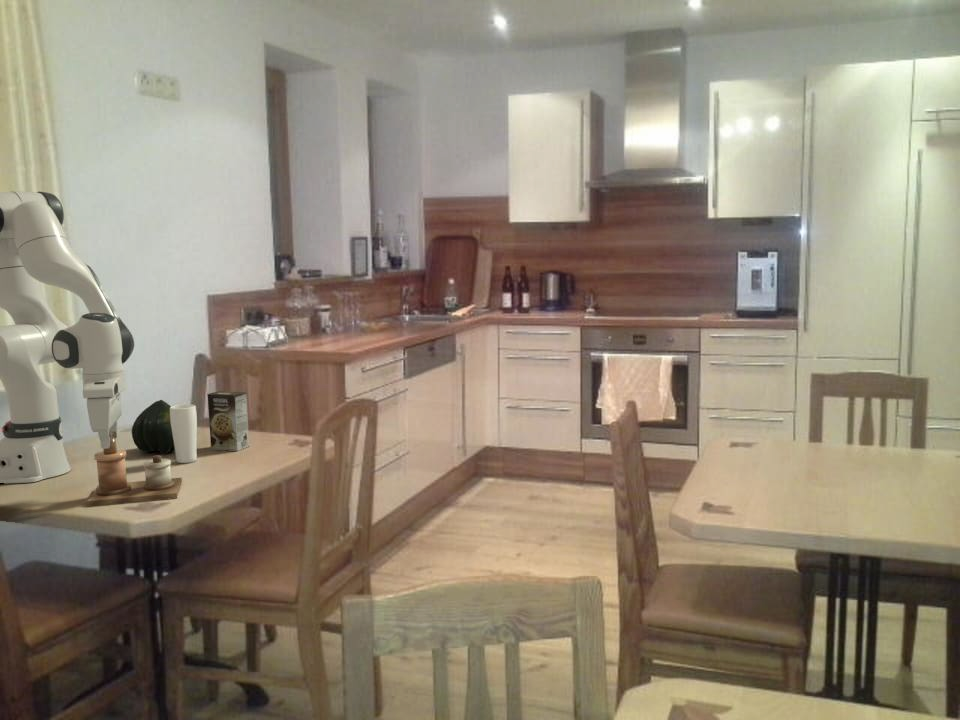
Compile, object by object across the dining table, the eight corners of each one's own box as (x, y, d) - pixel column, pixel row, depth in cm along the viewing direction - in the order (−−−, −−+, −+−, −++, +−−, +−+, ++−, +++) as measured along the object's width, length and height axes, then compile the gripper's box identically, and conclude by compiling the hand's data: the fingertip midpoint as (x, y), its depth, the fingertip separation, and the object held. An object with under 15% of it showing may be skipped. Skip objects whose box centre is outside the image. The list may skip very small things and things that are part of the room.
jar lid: (92, 462, 195) (90, 443, 195) (97, 455, 202) (95, 436, 201) (124, 459, 197) (122, 440, 197) (128, 452, 204) (126, 434, 203)
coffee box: (209, 450, 245) (206, 394, 242) (223, 444, 251) (219, 390, 249) (237, 451, 242) (233, 394, 240) (250, 446, 248) (247, 391, 246)
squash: (144, 441, 232) (172, 394, 239) (113, 438, 241) (140, 392, 248) (181, 467, 242) (207, 421, 249) (150, 462, 251) (175, 418, 258)
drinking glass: (204, 458, 235) (200, 404, 233) (193, 464, 228) (189, 408, 226) (180, 458, 236) (176, 404, 234) (168, 464, 229) (164, 409, 227)
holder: (87, 506, 193) (83, 466, 192) (98, 489, 206) (95, 452, 205) (177, 498, 198) (174, 458, 196) (182, 482, 211) (179, 445, 210)
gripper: (97, 378, 206) (102, 435, 208) (80, 392, 187) (86, 454, 189) (125, 376, 208) (130, 433, 210) (112, 390, 188) (117, 452, 190)
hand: (109, 443), depth 199 cm, fingers open, 8 cm apart
